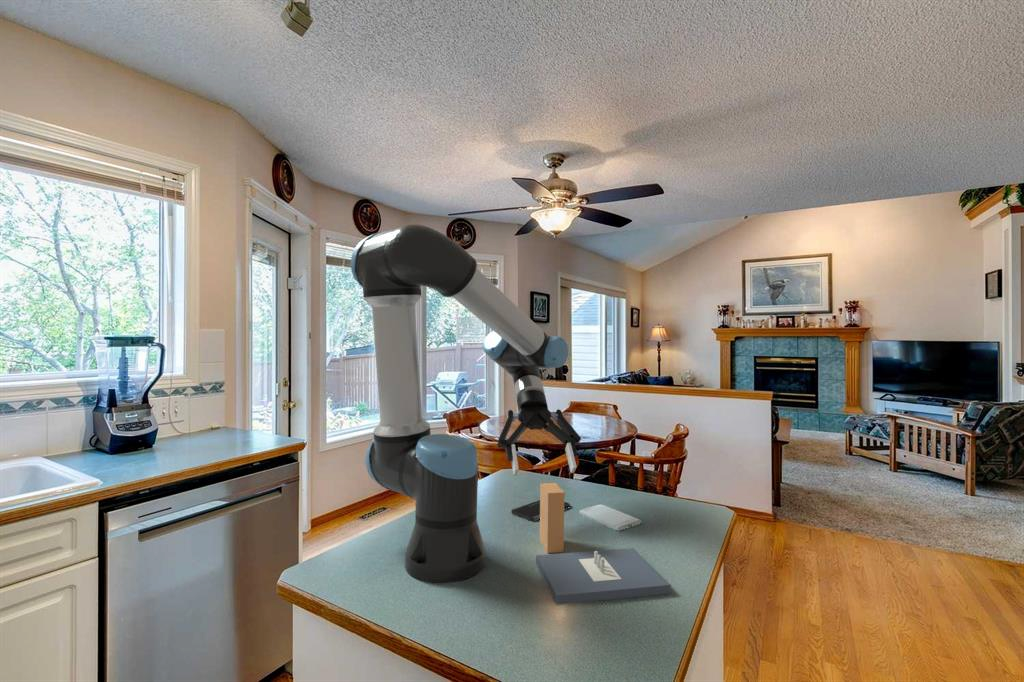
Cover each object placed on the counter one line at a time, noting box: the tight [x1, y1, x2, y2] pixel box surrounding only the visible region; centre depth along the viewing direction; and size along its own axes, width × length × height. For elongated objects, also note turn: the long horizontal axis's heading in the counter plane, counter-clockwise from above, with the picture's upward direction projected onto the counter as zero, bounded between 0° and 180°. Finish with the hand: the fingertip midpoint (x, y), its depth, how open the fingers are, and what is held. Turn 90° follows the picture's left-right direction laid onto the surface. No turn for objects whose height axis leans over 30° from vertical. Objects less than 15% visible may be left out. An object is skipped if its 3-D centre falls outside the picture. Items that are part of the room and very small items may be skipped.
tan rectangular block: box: [539, 482, 565, 554], centre depth 95 cm, size 3×6×12 cm, turn 11°
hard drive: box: [578, 504, 642, 532], centre depth 110 cm, size 2×8×12 cm
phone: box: [510, 499, 571, 522], centre depth 115 cm, size 8×1×15 cm
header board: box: [535, 547, 671, 606], centre depth 82 cm, size 20×14×4 cm
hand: (545, 471), depth 103 cm, fingers open, 13 cm apart
